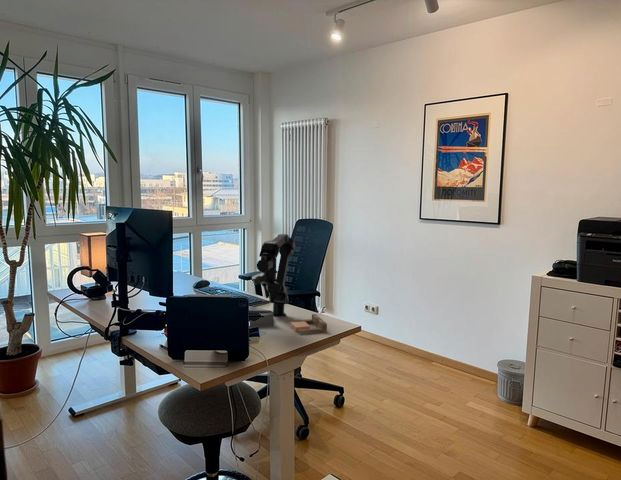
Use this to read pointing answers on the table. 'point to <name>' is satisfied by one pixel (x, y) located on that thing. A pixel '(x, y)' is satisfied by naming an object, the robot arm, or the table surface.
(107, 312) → the table surface
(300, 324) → the tile
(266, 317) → the scraper
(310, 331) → the tile rack
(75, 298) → the table surface
